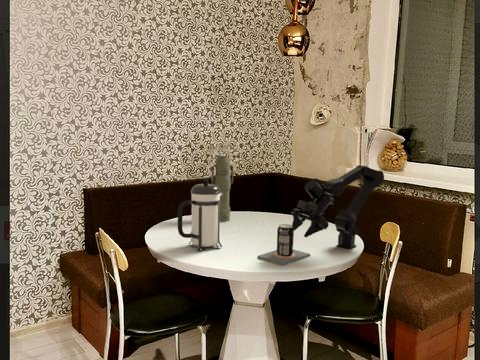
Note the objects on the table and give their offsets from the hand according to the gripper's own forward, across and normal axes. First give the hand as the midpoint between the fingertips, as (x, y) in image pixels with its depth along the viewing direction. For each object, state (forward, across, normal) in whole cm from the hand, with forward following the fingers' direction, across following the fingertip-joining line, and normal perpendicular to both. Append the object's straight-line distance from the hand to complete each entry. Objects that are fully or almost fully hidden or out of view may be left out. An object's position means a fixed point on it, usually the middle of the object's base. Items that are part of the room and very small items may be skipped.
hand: (297, 234), depth 190 cm
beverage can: (+10, 0, +1) cm, 10 cm away
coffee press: (+27, -28, -15) cm, 42 cm away
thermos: (+4, -70, +8) cm, 70 cm away
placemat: (+11, 0, +2) cm, 11 cm away
